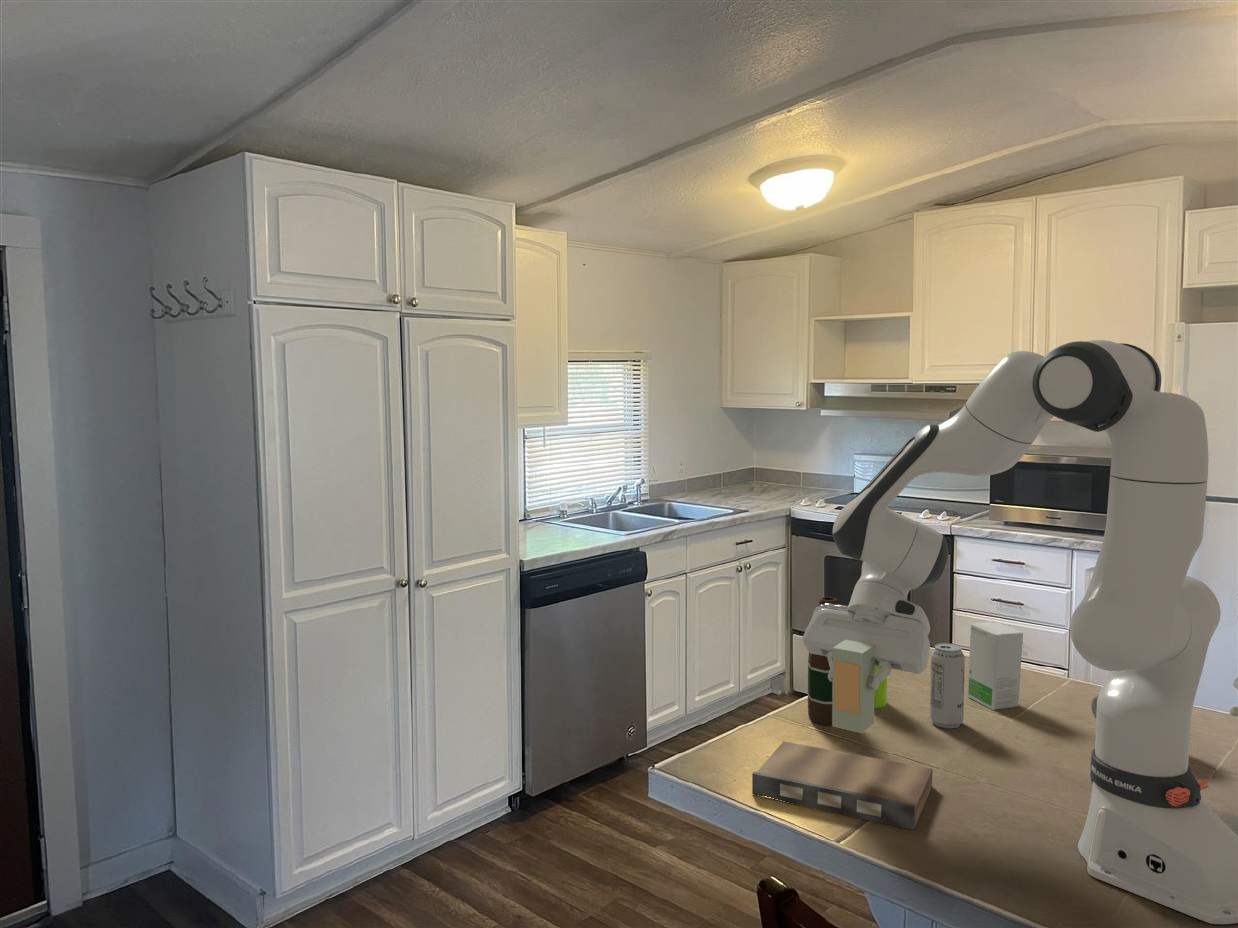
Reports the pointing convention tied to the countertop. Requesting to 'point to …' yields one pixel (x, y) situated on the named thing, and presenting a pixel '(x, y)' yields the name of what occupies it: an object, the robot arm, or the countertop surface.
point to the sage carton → (852, 686)
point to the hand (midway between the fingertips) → (851, 684)
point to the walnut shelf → (845, 784)
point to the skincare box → (994, 665)
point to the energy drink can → (947, 685)
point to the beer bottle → (820, 684)
